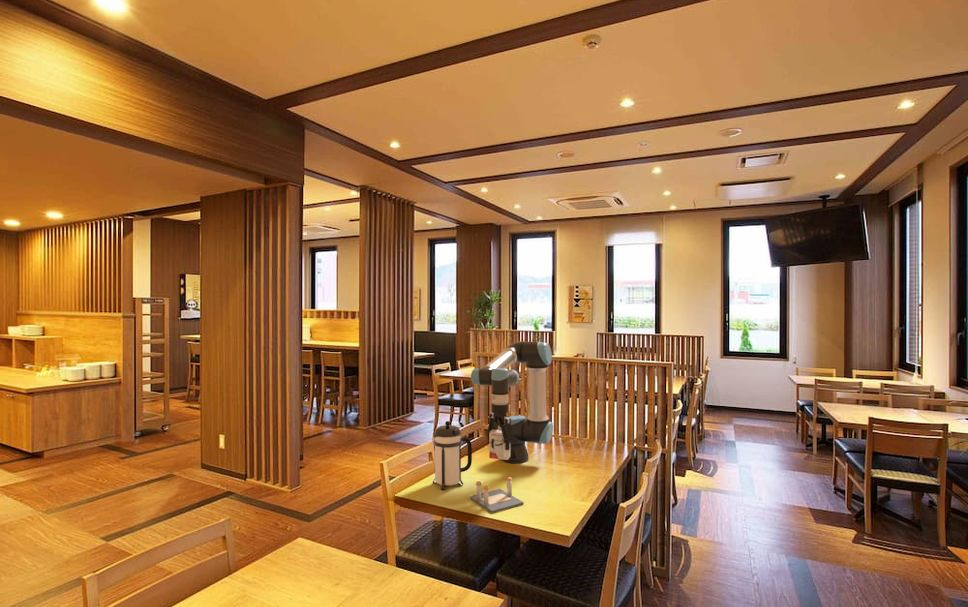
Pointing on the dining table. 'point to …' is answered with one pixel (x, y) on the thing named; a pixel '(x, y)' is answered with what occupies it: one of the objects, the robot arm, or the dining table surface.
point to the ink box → (496, 445)
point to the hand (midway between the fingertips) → (499, 454)
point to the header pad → (496, 498)
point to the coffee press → (449, 455)
